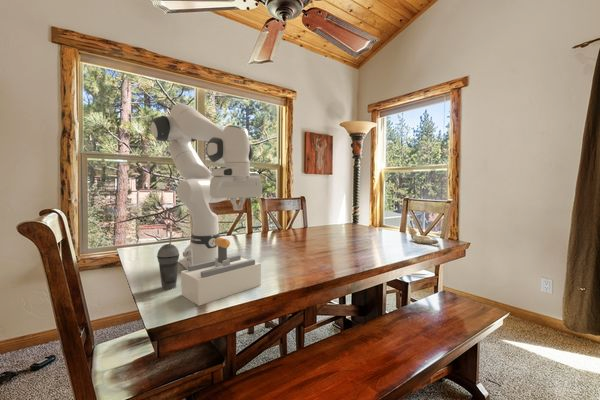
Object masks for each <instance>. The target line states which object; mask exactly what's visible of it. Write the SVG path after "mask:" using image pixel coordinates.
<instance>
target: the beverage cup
mask: <svg viewBox="0 0 600 400" xmlns="http://www.w3.org/2000/svg"><path fill="white" fill-rule="evenodd" d="M172 232H173V231H170V233H169V235H170V236H169V243H167V244H163V245H161V247H159V249H158V251H157V255H156V258H157V263H158V268H159V273H160V274H159V275H160V282H161V283H160V284H161V289H162V288H163V290H164V289H169V290H173V289H176V288H177V282H178V281H177V279H178V267H179V266H178V265H179V260H180V259H179V258H180V252H179V249H178V246H177V247H176V246H175V245H174V244H172V234H173V233H172ZM172 288H173V289H172Z"/></svg>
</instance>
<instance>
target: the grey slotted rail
mask: <svg viewBox="0 0 600 400" xmlns="http://www.w3.org/2000/svg"><path fill="white" fill-rule="evenodd" d="M241 258H242V256H241V254H236V255H231V256H227V259H229V260H230V262H233V261H237V260H241ZM255 262H256V259H253V258H252V259H248V260H247V261H243V262H239V263H235V264H230V265H226V266H222V267H218V268H214V269H210V270H206V271H201V277H202V278H205V277H209V276H212V275H216V274H220V273H224V272H228V271H232V270H236V269H239V268H243V267H247V266H251V265H255ZM212 266H215V260H212V261H207V262H203V263H198V264H194V265H189V266H188V269H187V270H188V271H194V270H199V269H203V268H207V267H212Z"/></svg>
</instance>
